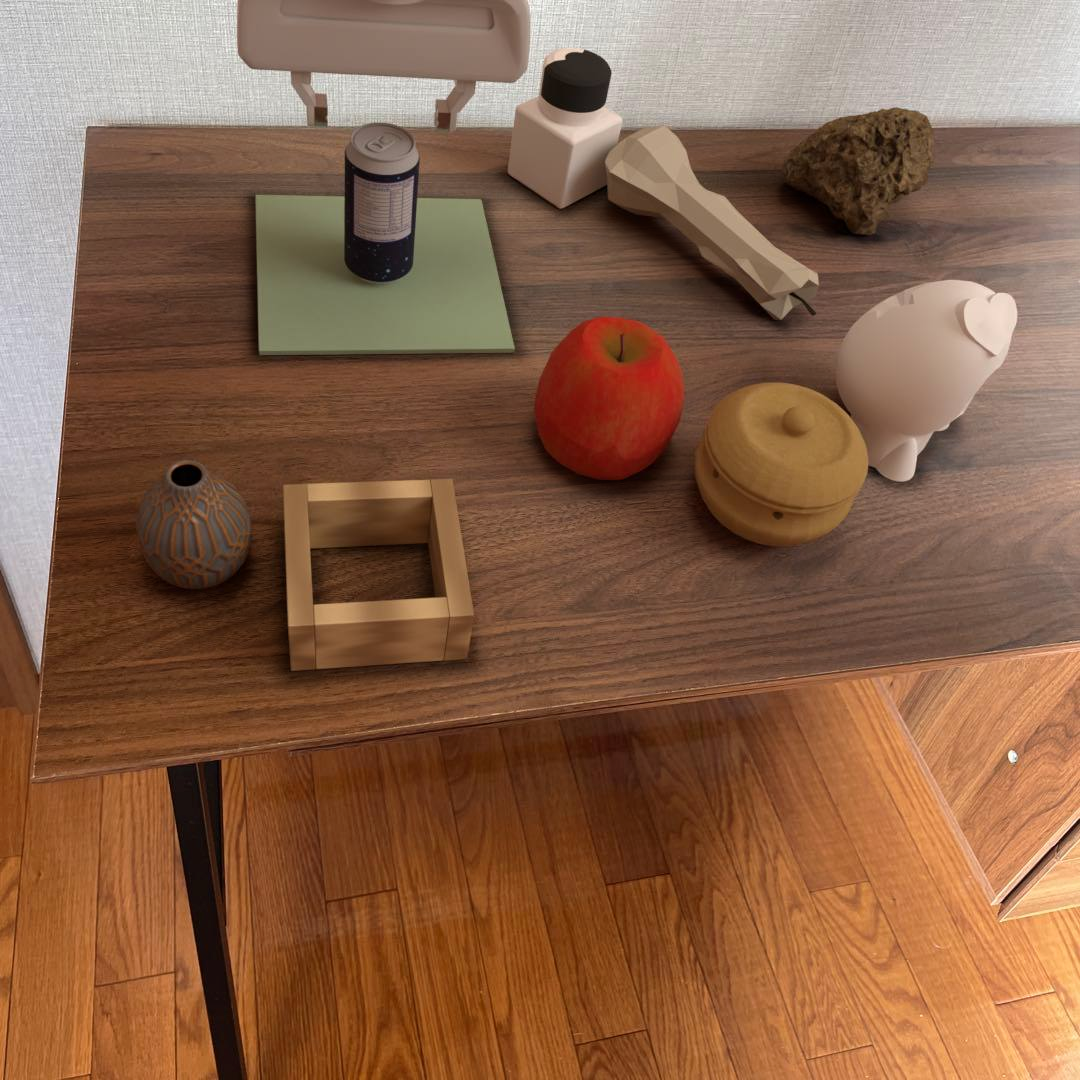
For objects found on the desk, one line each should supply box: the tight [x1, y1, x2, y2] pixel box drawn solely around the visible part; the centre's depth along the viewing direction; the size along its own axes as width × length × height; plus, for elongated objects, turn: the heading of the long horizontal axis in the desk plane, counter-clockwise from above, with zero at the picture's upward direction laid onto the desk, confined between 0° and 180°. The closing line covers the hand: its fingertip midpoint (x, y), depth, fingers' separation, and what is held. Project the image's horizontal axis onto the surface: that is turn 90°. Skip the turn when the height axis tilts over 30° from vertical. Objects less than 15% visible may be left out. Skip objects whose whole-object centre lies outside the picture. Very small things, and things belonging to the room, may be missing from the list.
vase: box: [135, 459, 253, 590], centre depth 69 cm, size 7×7×9 cm
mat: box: [254, 194, 516, 356], centre depth 93 cm, size 20×20×1 cm
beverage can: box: [344, 121, 421, 285], centre depth 88 cm, size 6×6×12 cm
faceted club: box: [605, 124, 820, 321], centre depth 98 cm, size 9×8×25 cm
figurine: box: [835, 279, 1018, 483], centre depth 84 cm, size 11×11×15 cm
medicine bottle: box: [507, 47, 623, 210], centre depth 101 cm, size 7×7×12 cm
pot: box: [693, 381, 869, 547], centre depth 79 cm, size 12×12×10 cm
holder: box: [282, 478, 475, 672], centre depth 71 cm, size 11×11×5 cm
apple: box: [533, 316, 686, 481], centre depth 80 cm, size 11×11×11 cm
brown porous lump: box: [781, 107, 935, 236], centre depth 104 cm, size 11×13×15 cm
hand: (381, 125), depth 82 cm, fingers open, 8 cm apart
